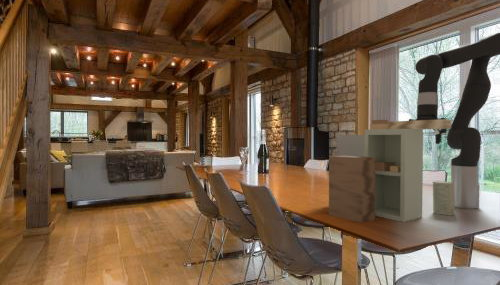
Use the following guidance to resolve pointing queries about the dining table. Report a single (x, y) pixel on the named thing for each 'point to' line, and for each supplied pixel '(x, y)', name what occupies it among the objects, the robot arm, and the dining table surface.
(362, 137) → the folded grey card
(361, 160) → the walnut block
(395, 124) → the birch strip
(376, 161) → the rack
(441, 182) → the skincare box
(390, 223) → the dining table surface
